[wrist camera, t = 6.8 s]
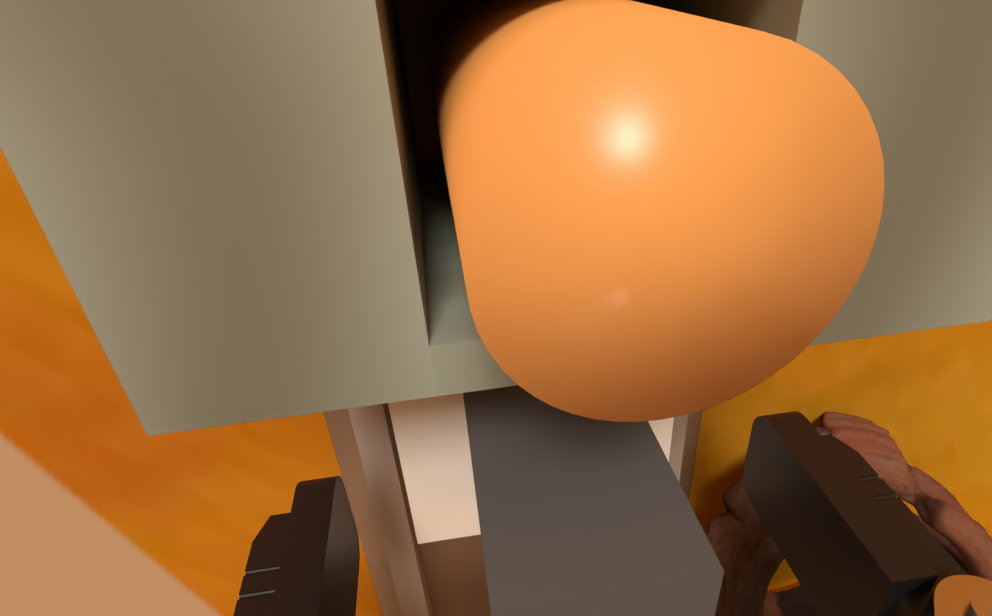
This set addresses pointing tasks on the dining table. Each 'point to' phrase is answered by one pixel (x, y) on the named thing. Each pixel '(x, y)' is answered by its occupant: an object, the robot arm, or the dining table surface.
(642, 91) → the plunger
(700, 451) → the dining table surface
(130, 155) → the rail base
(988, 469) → the dining table surface
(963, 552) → the pottery mug
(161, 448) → the dining table surface
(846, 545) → the robot arm
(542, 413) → the carriage
